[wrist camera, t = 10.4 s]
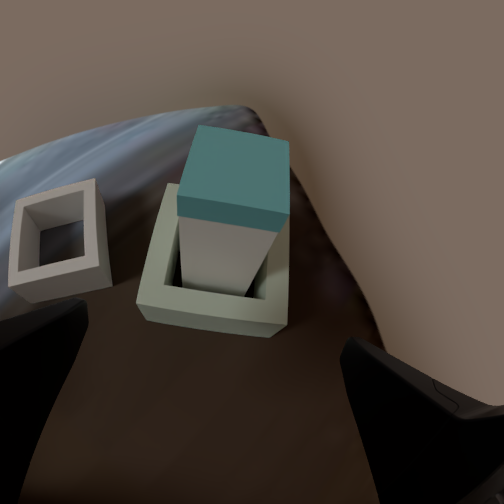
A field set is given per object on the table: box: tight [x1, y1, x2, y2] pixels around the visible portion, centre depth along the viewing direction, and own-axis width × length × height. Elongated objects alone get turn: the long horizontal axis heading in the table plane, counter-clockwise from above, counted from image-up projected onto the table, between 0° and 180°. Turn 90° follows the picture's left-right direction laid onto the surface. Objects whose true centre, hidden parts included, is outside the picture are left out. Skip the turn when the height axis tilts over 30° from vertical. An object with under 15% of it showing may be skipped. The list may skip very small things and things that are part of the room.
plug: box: [177, 125, 290, 297], centre depth 18 cm, size 5×5×12 cm
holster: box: [8, 178, 113, 304], centre depth 20 cm, size 8×8×4 cm
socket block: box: [136, 183, 290, 338], centre depth 21 cm, size 10×10×4 cm
